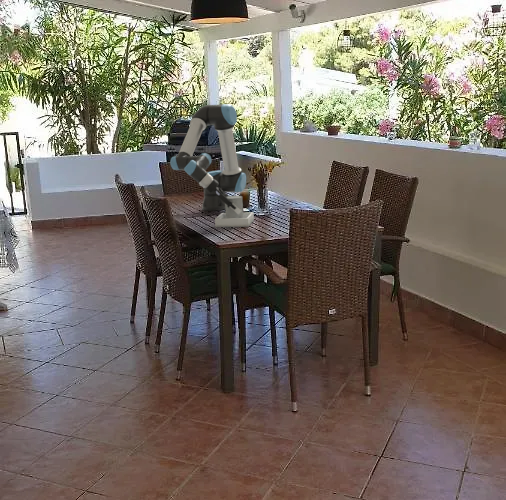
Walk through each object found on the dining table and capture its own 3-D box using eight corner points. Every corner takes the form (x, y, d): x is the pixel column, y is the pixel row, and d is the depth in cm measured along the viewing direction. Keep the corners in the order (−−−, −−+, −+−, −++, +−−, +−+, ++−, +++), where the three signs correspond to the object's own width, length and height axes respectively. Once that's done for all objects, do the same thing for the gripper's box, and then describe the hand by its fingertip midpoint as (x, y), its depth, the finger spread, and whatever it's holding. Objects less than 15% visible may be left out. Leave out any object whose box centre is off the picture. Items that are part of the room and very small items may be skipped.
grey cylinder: (228, 221, 379) (227, 199, 377) (224, 218, 388) (222, 196, 386) (245, 220, 382) (244, 197, 379) (241, 217, 391) (239, 195, 388)
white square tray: (222, 220, 396) (221, 212, 395) (253, 220, 393) (253, 212, 392) (215, 227, 378) (215, 218, 377) (248, 226, 375) (248, 218, 374)
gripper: (205, 185, 392) (235, 212, 395) (203, 191, 370) (235, 219, 374) (214, 175, 391) (244, 202, 394) (213, 181, 369) (244, 209, 373)
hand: (240, 211), depth 384 cm, fingers closed on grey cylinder, 9 cm apart
